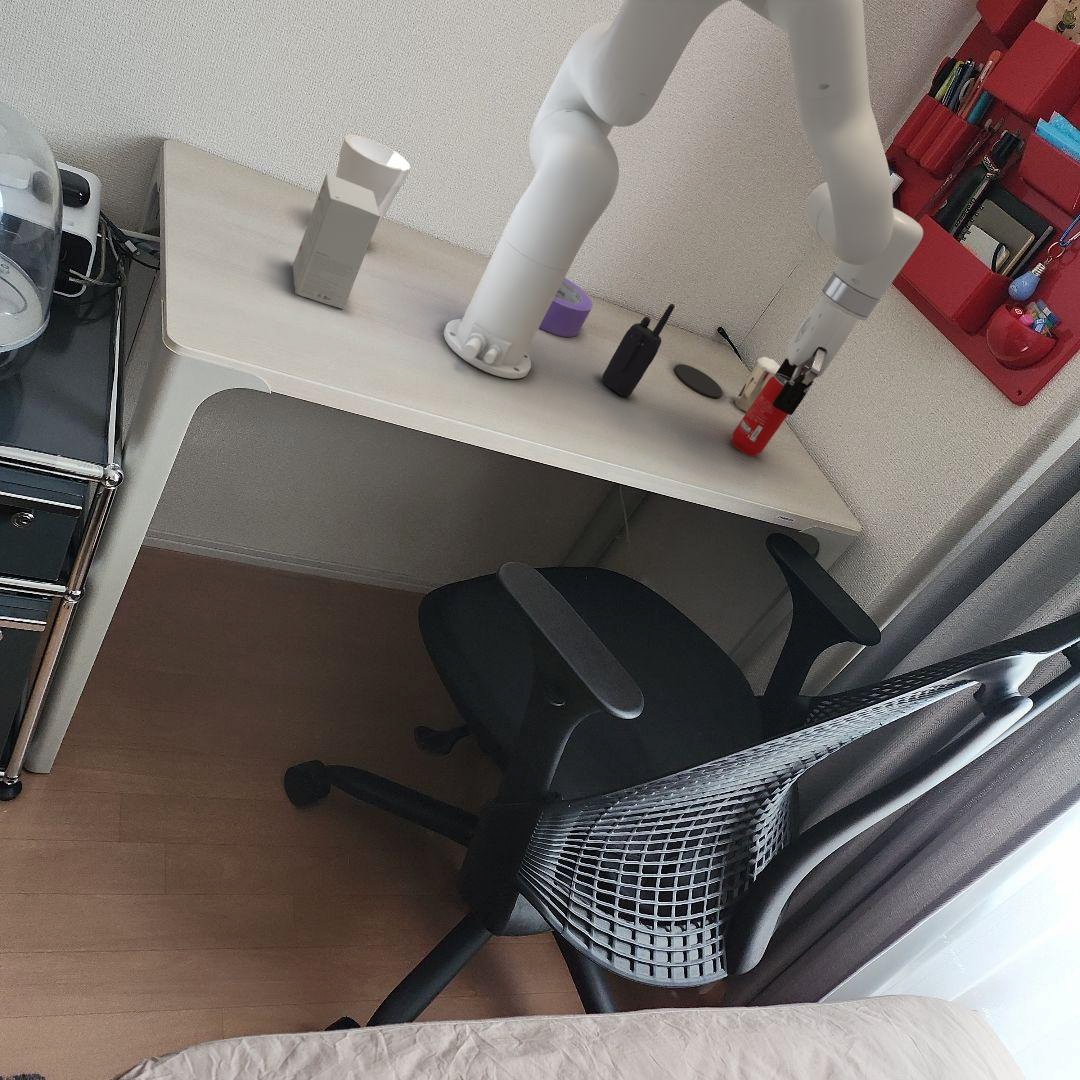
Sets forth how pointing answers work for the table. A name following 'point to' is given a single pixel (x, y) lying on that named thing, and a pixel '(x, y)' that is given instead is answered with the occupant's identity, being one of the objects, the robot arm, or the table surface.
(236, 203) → the table surface
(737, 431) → the beverage can
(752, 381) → the milkshake
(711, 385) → the coaster
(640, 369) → the two-way radio
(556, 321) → the tape roll
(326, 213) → the small box
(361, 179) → the foam cup
